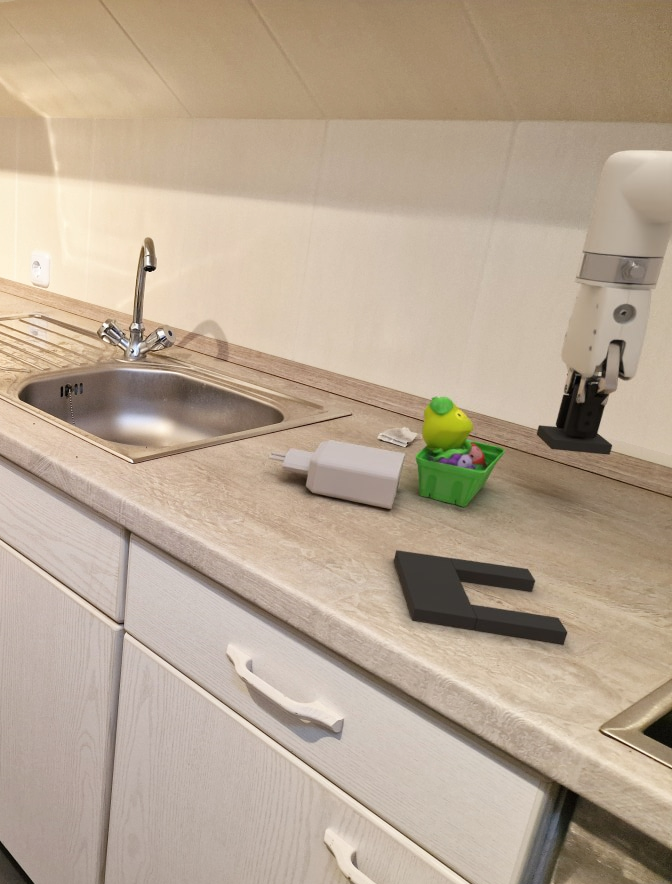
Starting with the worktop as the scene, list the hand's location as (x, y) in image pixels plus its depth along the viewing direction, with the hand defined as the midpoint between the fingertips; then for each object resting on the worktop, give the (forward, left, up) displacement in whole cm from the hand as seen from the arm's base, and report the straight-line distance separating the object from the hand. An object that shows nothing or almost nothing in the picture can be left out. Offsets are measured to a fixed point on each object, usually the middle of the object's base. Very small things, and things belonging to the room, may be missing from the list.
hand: (575, 431), depth 99 cm
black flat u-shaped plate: (+15, +31, -9) cm, 35 cm away
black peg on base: (0, 0, -2) cm, 2 cm away
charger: (+26, +6, -9) cm, 28 cm away
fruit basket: (+12, +2, -9) cm, 15 cm away
